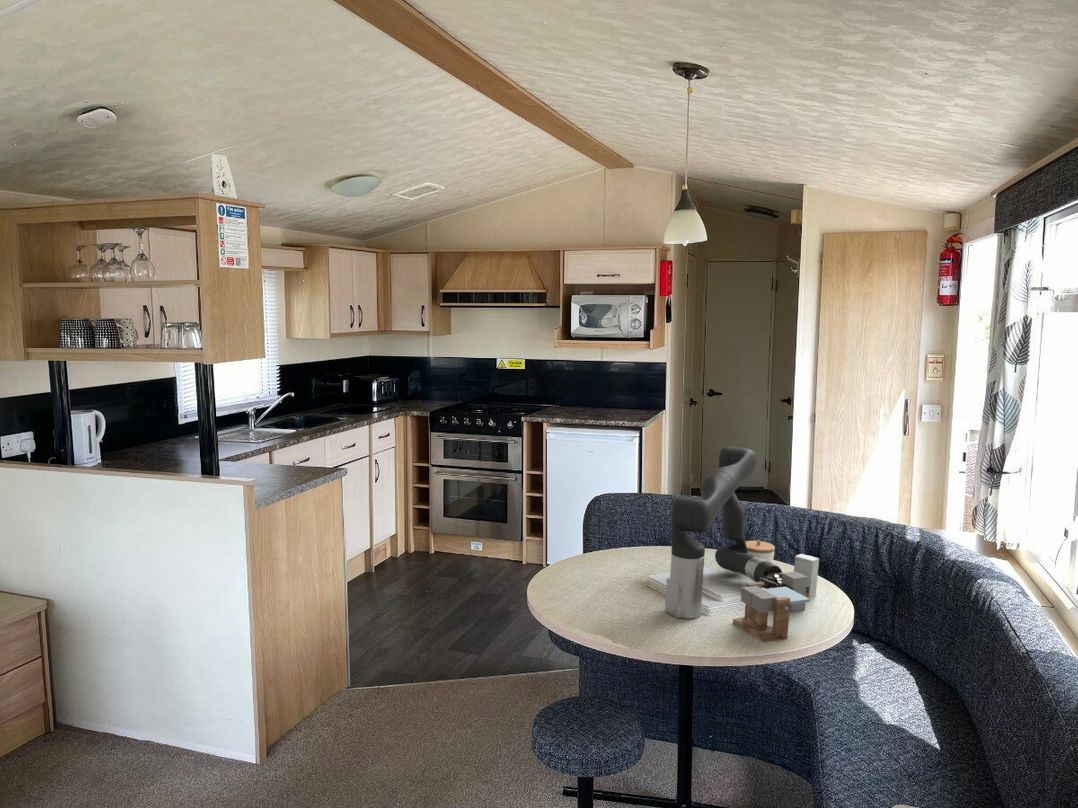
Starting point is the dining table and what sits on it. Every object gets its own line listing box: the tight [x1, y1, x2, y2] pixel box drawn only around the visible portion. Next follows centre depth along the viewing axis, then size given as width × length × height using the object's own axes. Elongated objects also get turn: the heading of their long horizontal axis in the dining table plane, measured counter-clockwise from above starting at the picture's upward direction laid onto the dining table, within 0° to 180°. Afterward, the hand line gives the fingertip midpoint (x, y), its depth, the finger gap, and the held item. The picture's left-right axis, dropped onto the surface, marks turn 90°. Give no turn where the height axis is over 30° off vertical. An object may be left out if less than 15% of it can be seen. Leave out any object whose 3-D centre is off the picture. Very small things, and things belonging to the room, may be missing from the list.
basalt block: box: [782, 571, 808, 613], centre depth 238 cm, size 5×5×10 cm
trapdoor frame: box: [732, 581, 790, 643], centre depth 221 cm, size 16×8×11 cm, turn 22°
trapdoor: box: [740, 586, 811, 613], centre depth 222 cm, size 10×15×4 cm, turn 112°
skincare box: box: [793, 553, 820, 600], centre depth 250 cm, size 6×4×12 cm
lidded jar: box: [745, 539, 776, 563], centre depth 275 cm, size 11×11×9 cm
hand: (799, 591), depth 236 cm, fingers closed on basalt block, 5 cm apart
